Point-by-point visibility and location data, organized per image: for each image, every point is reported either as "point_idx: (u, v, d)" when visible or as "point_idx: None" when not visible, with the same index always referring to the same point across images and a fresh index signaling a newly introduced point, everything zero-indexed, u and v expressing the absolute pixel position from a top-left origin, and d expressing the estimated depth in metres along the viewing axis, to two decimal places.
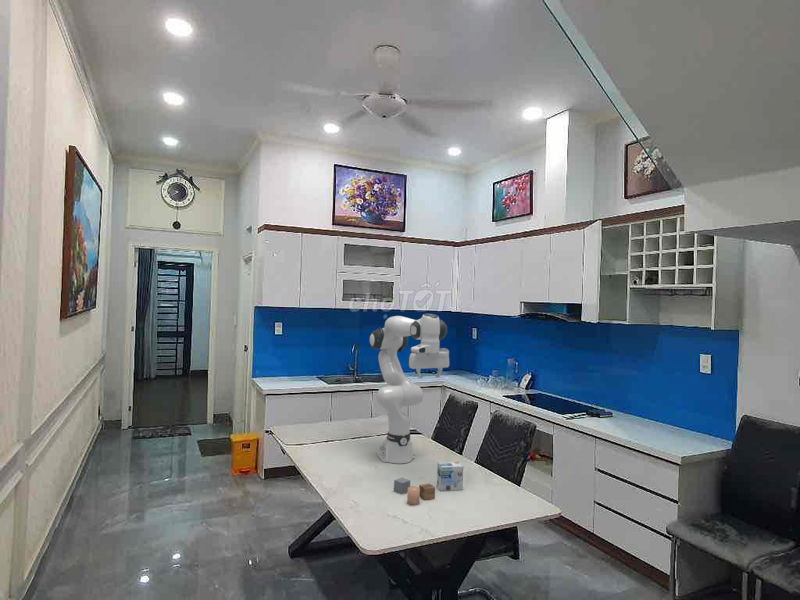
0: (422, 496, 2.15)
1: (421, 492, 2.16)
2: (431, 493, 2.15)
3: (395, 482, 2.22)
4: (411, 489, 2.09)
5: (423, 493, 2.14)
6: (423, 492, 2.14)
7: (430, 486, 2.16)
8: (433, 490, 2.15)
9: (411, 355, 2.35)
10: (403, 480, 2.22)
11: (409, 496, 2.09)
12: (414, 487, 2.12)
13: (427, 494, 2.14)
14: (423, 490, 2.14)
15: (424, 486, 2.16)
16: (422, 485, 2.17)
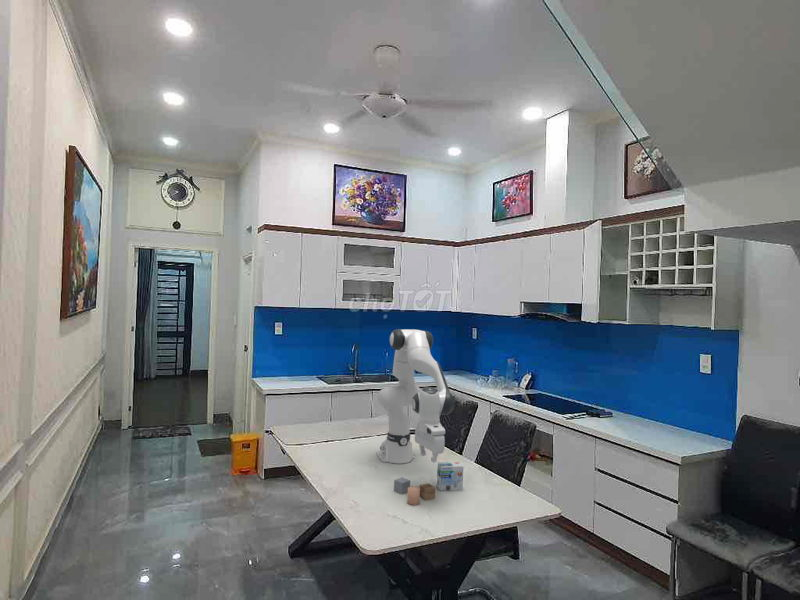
0: (422, 496, 2.15)
1: (421, 492, 2.16)
2: (431, 493, 2.15)
3: (395, 482, 2.22)
4: (411, 489, 2.09)
5: (423, 493, 2.14)
6: (423, 492, 2.14)
7: (430, 486, 2.16)
8: (433, 490, 2.15)
9: (438, 439, 2.08)
10: (403, 480, 2.22)
11: (409, 496, 2.09)
12: (414, 487, 2.12)
13: (427, 494, 2.14)
14: (423, 490, 2.14)
15: (424, 486, 2.16)
16: (422, 485, 2.17)
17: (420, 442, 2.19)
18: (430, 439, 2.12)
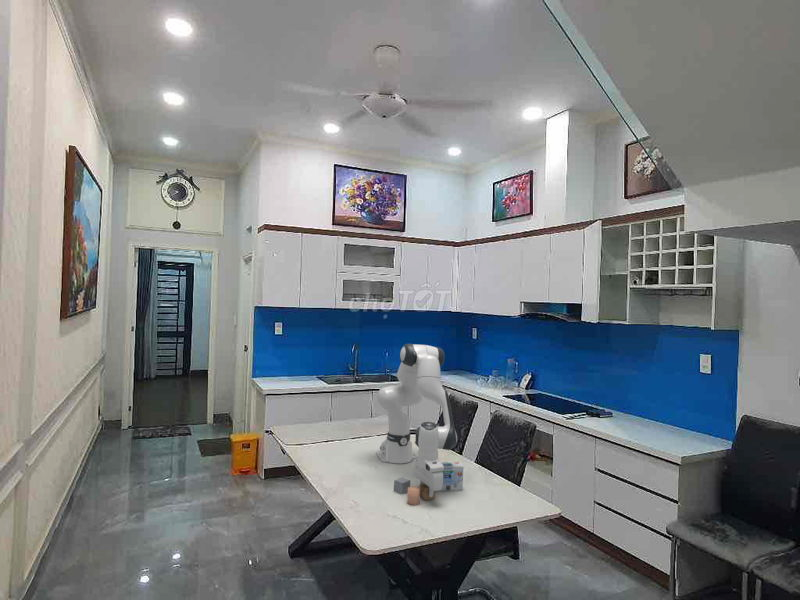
0: (422, 496, 2.15)
1: (421, 492, 2.16)
2: None
3: (395, 482, 2.22)
4: (411, 489, 2.09)
5: (423, 493, 2.14)
6: (423, 492, 2.14)
7: None
8: None
9: (437, 476, 2.08)
10: (403, 480, 2.22)
11: (409, 496, 2.09)
12: (414, 487, 2.12)
13: (427, 494, 2.14)
14: (423, 490, 2.14)
15: (424, 486, 2.16)
16: (422, 485, 2.17)
17: (419, 477, 2.19)
18: (429, 475, 2.12)
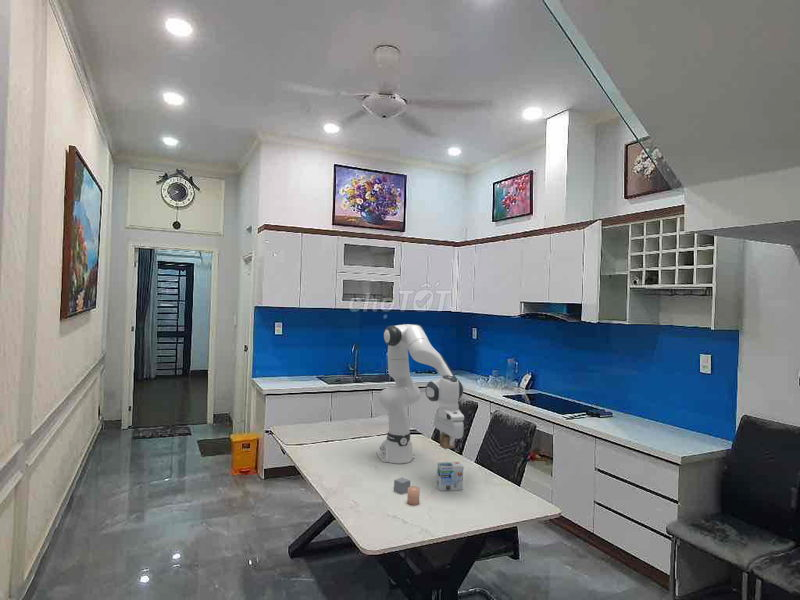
0: (443, 445, 2.25)
1: (442, 441, 2.26)
2: None
3: (395, 482, 2.22)
4: (411, 489, 2.09)
5: (443, 442, 2.25)
6: (444, 441, 2.24)
7: None
8: None
9: (457, 425, 2.18)
10: (403, 480, 2.22)
11: (409, 496, 2.09)
12: (414, 487, 2.12)
13: None
14: (444, 439, 2.24)
15: (444, 436, 2.26)
16: (443, 435, 2.27)
17: (439, 427, 2.30)
18: (449, 425, 2.22)
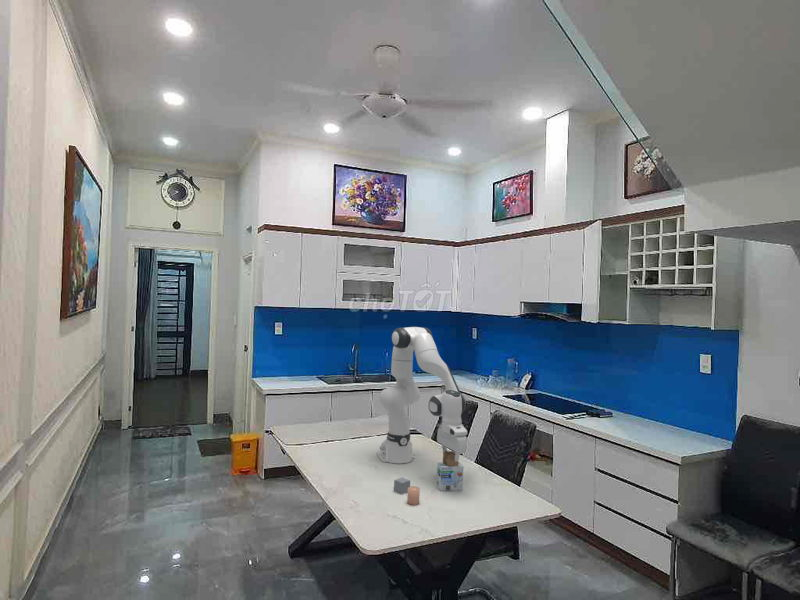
0: (446, 462, 2.27)
1: (445, 459, 2.28)
2: None
3: (395, 482, 2.22)
4: (411, 489, 2.09)
5: (447, 460, 2.26)
6: (447, 459, 2.26)
7: (453, 453, 2.28)
8: None
9: (461, 439, 2.20)
10: (403, 480, 2.22)
11: (409, 496, 2.09)
12: (414, 487, 2.12)
13: (451, 460, 2.26)
14: (447, 456, 2.26)
15: (448, 453, 2.28)
16: (446, 452, 2.29)
17: (442, 442, 2.31)
18: (453, 439, 2.24)
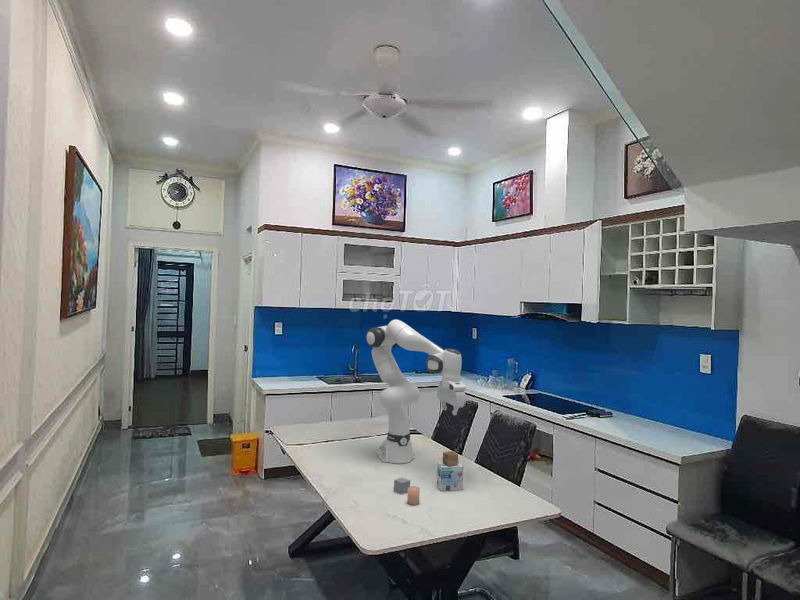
0: (446, 462, 2.27)
1: (445, 459, 2.28)
2: (454, 460, 2.26)
3: (395, 482, 2.22)
4: (411, 489, 2.09)
5: (447, 460, 2.26)
6: (447, 459, 2.26)
7: (453, 453, 2.28)
8: (456, 457, 2.27)
9: (459, 394, 2.31)
10: (403, 480, 2.22)
11: (409, 496, 2.09)
12: (414, 487, 2.12)
13: (451, 460, 2.26)
14: (447, 456, 2.26)
15: (447, 453, 2.28)
16: (446, 452, 2.29)
17: (442, 398, 2.43)
18: (452, 394, 2.36)
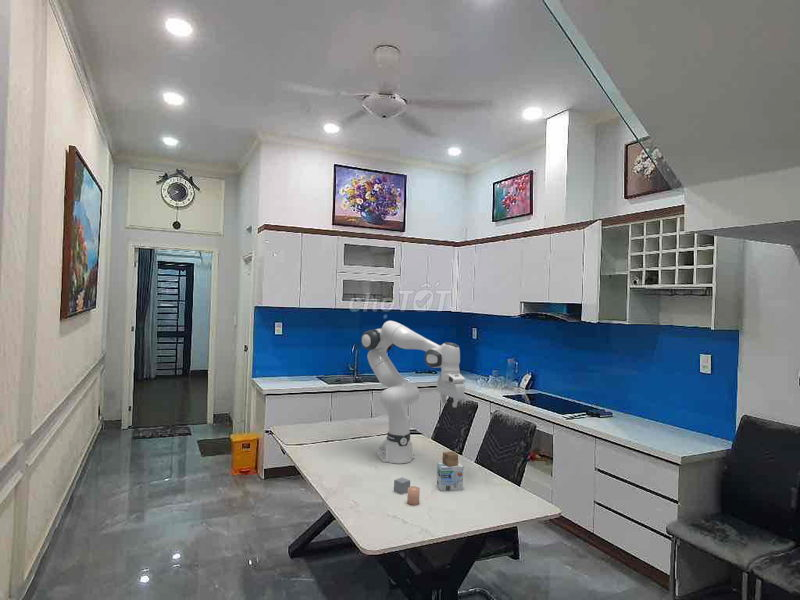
0: (446, 462, 2.27)
1: (445, 459, 2.28)
2: (454, 460, 2.26)
3: (395, 482, 2.22)
4: (411, 489, 2.09)
5: (447, 460, 2.26)
6: (447, 459, 2.26)
7: (453, 453, 2.28)
8: (456, 457, 2.27)
9: (459, 386, 2.35)
10: (403, 480, 2.22)
11: (409, 496, 2.09)
12: (414, 487, 2.12)
13: (451, 460, 2.26)
14: (447, 457, 2.26)
15: (447, 453, 2.28)
16: (446, 452, 2.29)
17: (442, 391, 2.47)
18: (451, 387, 2.40)
